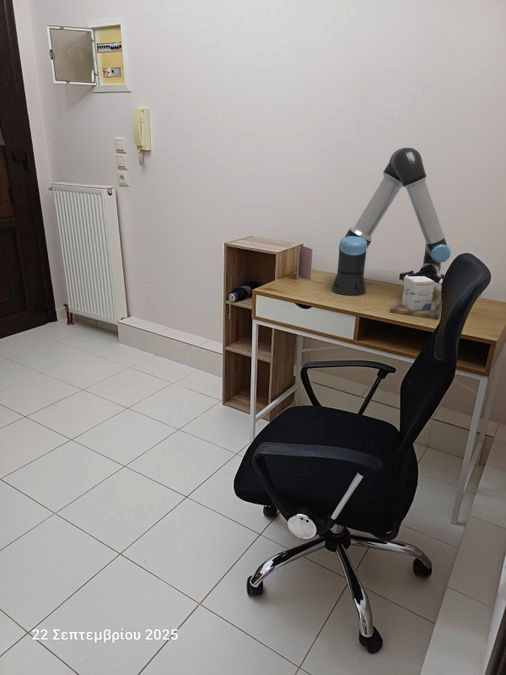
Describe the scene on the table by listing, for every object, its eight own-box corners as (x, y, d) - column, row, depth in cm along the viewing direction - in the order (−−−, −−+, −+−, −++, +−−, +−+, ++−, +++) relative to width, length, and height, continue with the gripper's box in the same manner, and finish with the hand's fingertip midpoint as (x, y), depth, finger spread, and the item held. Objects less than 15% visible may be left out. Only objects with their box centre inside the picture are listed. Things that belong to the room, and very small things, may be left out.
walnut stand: (389, 312, 190) (391, 297, 188) (395, 303, 202) (397, 289, 200) (437, 319, 183) (440, 304, 181) (441, 309, 195) (443, 295, 193)
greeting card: (297, 274, 245) (299, 245, 240) (312, 275, 244) (314, 245, 238) (294, 280, 234) (296, 249, 229) (310, 281, 233) (312, 250, 228)
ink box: (420, 303, 197) (424, 275, 193) (431, 310, 189) (435, 280, 185) (400, 304, 195) (404, 275, 191) (410, 310, 188) (414, 281, 183)
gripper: (457, 285, 209) (453, 297, 192) (398, 277, 219) (389, 288, 201) (460, 267, 207) (456, 278, 189) (400, 261, 217) (391, 270, 199)
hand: (421, 283), depth 195 cm, fingers open, 13 cm apart
